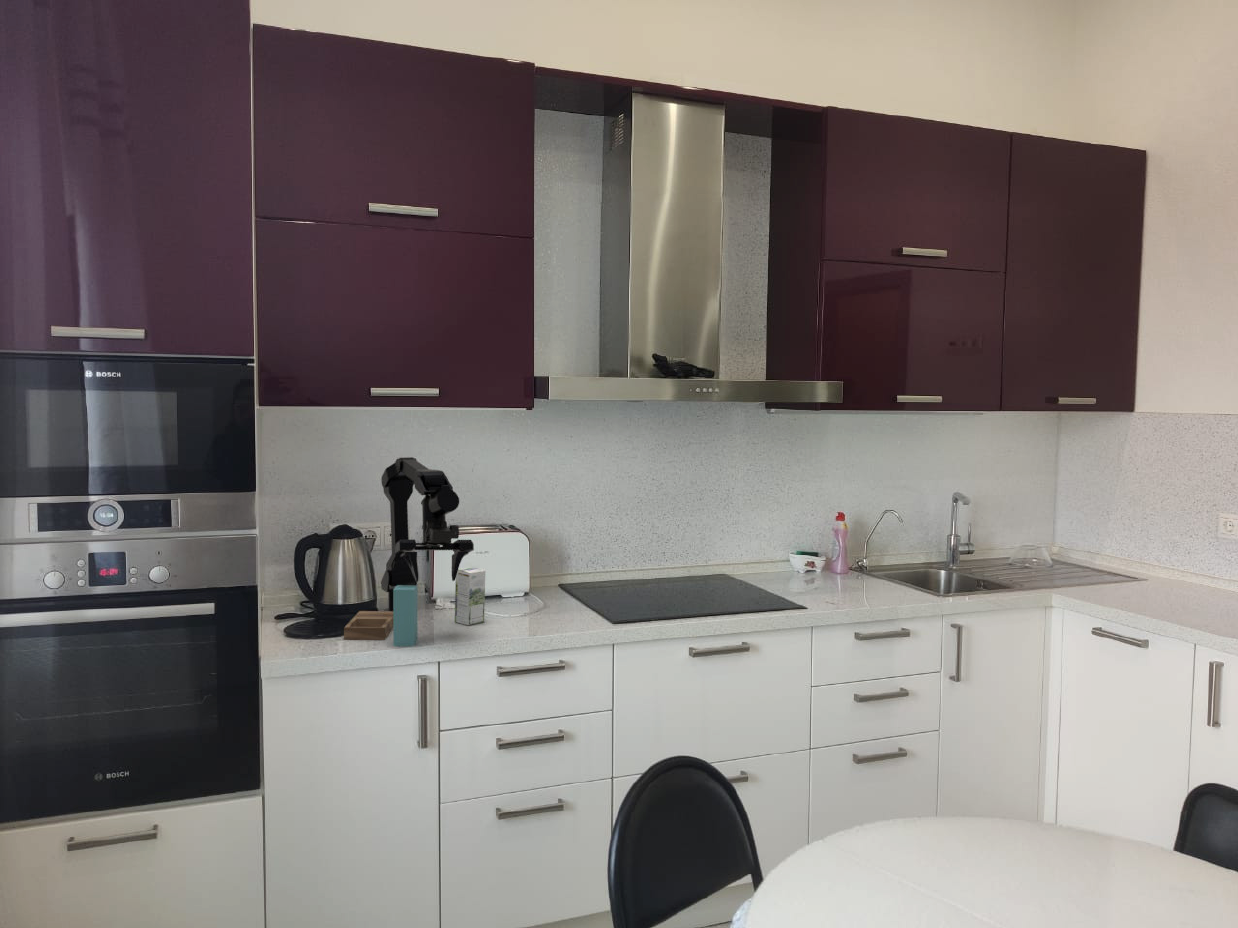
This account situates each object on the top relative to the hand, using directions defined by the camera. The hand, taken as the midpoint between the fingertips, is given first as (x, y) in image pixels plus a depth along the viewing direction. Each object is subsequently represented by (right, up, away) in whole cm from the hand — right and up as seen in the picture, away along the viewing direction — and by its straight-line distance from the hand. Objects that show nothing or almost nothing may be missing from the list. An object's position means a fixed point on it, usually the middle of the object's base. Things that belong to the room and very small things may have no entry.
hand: (435, 581), depth 231 cm
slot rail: (-18, -14, +8) cm, 24 cm away
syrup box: (+6, -14, +19) cm, 24 cm away
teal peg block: (-7, -15, -2) cm, 17 cm away
